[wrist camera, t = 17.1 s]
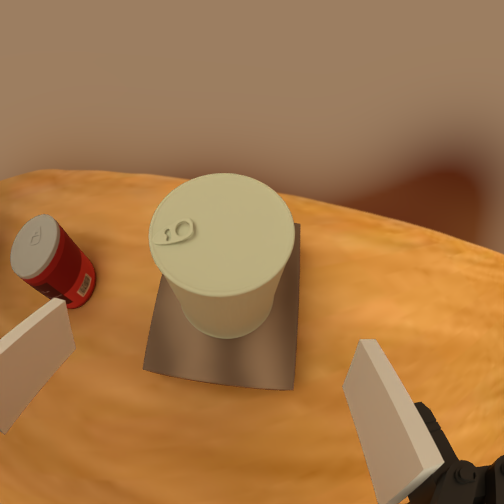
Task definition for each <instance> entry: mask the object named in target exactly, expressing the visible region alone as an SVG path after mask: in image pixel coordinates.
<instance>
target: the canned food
mask: <svg viewBox="0 0 504 504" xmlns="http://www.w3.org/2000/svg"><path fill="white" fill-rule="evenodd" d="M10 261H11V266H12V269H13V271H14V272H15V273H16V274H17V275H18V276H19V277H20V278H21V279H23V280H24V281H25V282H26V283H28V284H29V285H30V286H32V287H33V288H35V289H36V290H37V291H39V292H40V293H42V294H43V295H45V296H46V297H48V298H49V299H51V300H52V299H53V298H58V299H62V300H65V301H66V307H67V308H71V309H74V308H78V307H80V306H82V305H83V304H84V303H85V302H86V301H87V300H88V299H89V298H90V296H91V295H92V292H93V290H94V287H95V282H96V275H95V271H94V268H93V265H92V263H91V262H90V260H89V259H88V258H87V257H86V256H85V255H84V253H83V252H82V251H81V250H80V249H79V248H78V246H77V245H76V244H75V243H74V242H73V241H72V239H71V238H70V237H69V236H68V235H67V233H66V232H65V231H64V230H63V228H62V227H61V226H60V225H59V224H58V222H57V221H56V220H55V219H54V218H52V217H51V216H49V215H45V214H43V215H38V216H36V217H34V218H32V219H31V220H29V221H28V222H27V223H26V224H25V225H24V226H23V227H22V228H21V230H20V231H19V233H18V234H17V236H16V238H15V240H14V242H13V246H12V249H11V256H10Z"/></svg>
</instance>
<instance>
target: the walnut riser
mask: <svg viewBox="0 0 504 504" xmlns="http://www.w3.org/2000/svg"><path fill="white" fill-rule="evenodd" d="M294 226H295V240H294V246H293V250H292V253H291V255H290V257H289V259H288V261H287V263H286V265H285V267H284V270H283V273H282V275H281V278H280V280H279V283H278V286H277V289H276V292H275V294H274V300H273V305H272V308H271V311H270V313H269V315H268V317H267V318H266V320H265V321H264V322H263V323H262V324H261V325H260V326H259V327H258V328H257V329H255V330H254V331H252V332H251V333H249V334H247V335H244V336H241V337H238V338H231V339H222V338H215V337H212V336H209V335H206V334H204V333H202V332H201V331H199V330H198V329H196V328H195V327H194V326H193V325H192V324H191V323H190V322H189V321H188V319H187V318H186V316H185V314H184V312H183V310H182V307H181V304H180V302H179V300H178V299H177V297H176V295H175V293H174V292H173V290H172V288H171V287H170V285H169V283H168V281H167V280H166V278H165V276H164V275H163V273H162V277H161V281H160V286H159V290H158V294H157V298H156V303H155V307H154V312H153V317H152V321H151V326H150V331H149V336H148V342H147V347H146V352H145V358H144V364H143V370H147V371H150V372H154V373H158V374H162V375H167V376H172V377H177V378H182V379H188V380H193V381H200V382H206V383H213V384H220V385H228V386H236V387H245V388H256V389H268V390H293V389H294V376H295V362H296V347H297V329H298V307H299V278H300V224H297V223H294Z"/></svg>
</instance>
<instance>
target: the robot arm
mask: <svg viewBox="0 0 504 504" xmlns="http://www.w3.org/2000/svg"><path fill="white" fill-rule="evenodd" d="M75 349H76V346H75V342H74V338H73V334H72V330H71V326H70V321H69V317H68V312H67V307H66V301H65V300H62V299H58V298H53V299H52V300H50V301H49V302H47V303H46V304H45V305H43V306H42V307H41V308H39V309H38V310H37V311H35V312H34V313H33V314H31V315H30V316H29V317H27V318H26V319H25V320H24V321H22V322H21V323H20V324H18V325H17V326H16V327H15V328H13V329H12V330H11V331H10V332H8V333H7V334H6V335H5V336H4V337H2V338H1V339H0V431H1V432H2V433H3V434H4V435H5V434H6V433H7V431H8V430H9V429H10V427H11V426H12V425H13V423H14V422H15V421H16V419H17V418H18V417H19V416H20V414H21V413H22V412H23V410H24V409H25V408H26V407H27V405H28V404H29V403H30V402H31V400H32V399H33V398H34V397H35V396H36V394H37V393H38V392H39V391H40V389H41V388H42V387H43V386H44V385H45V384H46V382H47V381H48V380H49V379H50V378H51V376H52V375H53V374H54V373H55V372H56V371H57V370H58V368H59V367H60V366H61V365H62V364H63V363H64V362H65V360H66V359H67V358H68V357H69V356H70V355H71V354H72V353H73V351H74V350H75ZM342 387H343V390H344V393H345V396H346V399H347V402H348V405H349V408H350V411H351V414H352V418H353V421H354V424H355V427H356V430H357V433H358V436H359V440H360V443H361V446H362V449H363V453H364V456H365V459H366V463H367V466H368V469H369V473H370V476H371V480H372V483H373V487H374V490H375V494H376V498H377V502H378V504H397V503H400V502H401V501H402V500H403V499H405V498H406V497H407V496H408V498H409V500H410V502H409V503H407V504H504V455H503V456H500V457H499V458H498V459H497V460H496V461H495V462H494V463H493V464H492V465H489V466H482V467H475V466H474V465H473V464H472V463H470V462H468V461H465V460H460V461H459V459H458V458H457V457H456V455H455V453H454V451H453V449H452V447H451V445H450V443H449V442H448V440H447V438H446V436H445V434H444V433H443V431H442V430H441V427H440V426H439V424H438V422H436V419H435V417H434V415H433V413H432V412H431V410H430V409H429V408H428V407H426V406H425V405H424V404H423V403H422V402H417V403H413V401H412V400H411V398H410V396H409V394H408V393H407V391H406V389H405V387H404V386H403V384H402V382H401V380H400V379H399V377H398V375H397V374H396V372H395V370H394V369H393V367H392V365H391V364H390V362H389V360H388V359H387V357H386V355H385V354H384V352H383V350H382V349H381V347H380V346H379V344H378V342H377V341H376V339H360V340H359V343H358V346H357V349H356V351H355V354H354V357H353V360H352V363H351V365H350V368H349V371H348V373H347V376H346V379H345V381H344V384H343V386H342Z"/></svg>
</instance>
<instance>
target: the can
mask: <svg viewBox="0 0 504 504" xmlns="http://www.w3.org/2000/svg"><path fill="white" fill-rule="evenodd" d="M294 240H295V226H294V221H293V218H292V215H291V212H290V210H289V208H288V207H287V205H286V203H285V202H284V201H283V199H282V198H281V197H280V196H279V195H278V194H277V193H276V192H275V191H274V190H273V189H271V188H270V187H269V186H267V185H265V184H264V183H262V182H260V181H258V180H255V179H253V178H250V177H247V176H243V175H238V174H231V173H230V174H229V173H217V174H209V175H205V176H201V177H197V178H194V179H192V180H189V181H187V182H185V183H183V184H182V185H180V186H178V187H177V188H175V189H174V190H173V191H171V192H170V193H169V194H168V195H167V196H166V197H165V198H164V199H163V201H162V202H161V203H160V204H159V206H158V207H157V209H156V211H155V213H154V215H153V217H152V220H151V224H150V228H149V246H150V251H151V254H152V257H153V259H154V262H155V264H156V265H157V267H158V268H159V270H160V271H161V272H162V273H163V275H164V276H165V278H166V280H167V281H168V283H169V285H170V287H171V288H172V290H173V292H174V293H175V295H176V297H177V299H178V300H179V302H180V304H181V307H182V310H183V312H184V314H185V316H186V318H187V319H188V321H189V322H190V323H191V324H192V325H193V326H194V327H195V328H196V329H198V330H199V331H201V332H202V333H204V334H206V335H209V336H212V337H215V338H222V339H231V338H238V337H241V336H244V335H247V334H249V333H251V332H252V331H254V330H255V329H257V328H258V327H259V326H260V325H261V324H262V323H263V322H264V321H265V320H266V318H267V317H268V315H269V313H270V311H271V308H272V305H273V300H274V294H275V292H276V289H277V286H278V283H279V280H280V278H281V275H282V273H283V270H284V267H285V265H286V263H287V261H288V259H289V257H290V255H291V253H292V250H293V246H294Z"/></svg>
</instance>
